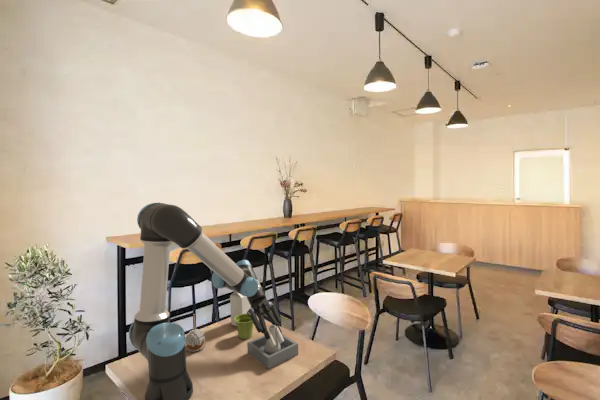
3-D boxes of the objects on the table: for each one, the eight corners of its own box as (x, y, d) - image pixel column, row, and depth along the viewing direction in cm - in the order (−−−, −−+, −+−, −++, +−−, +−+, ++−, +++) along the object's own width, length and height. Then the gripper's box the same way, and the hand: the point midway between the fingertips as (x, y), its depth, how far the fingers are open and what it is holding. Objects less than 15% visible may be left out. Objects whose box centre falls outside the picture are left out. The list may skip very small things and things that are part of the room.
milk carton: (231, 324, 159) (229, 287, 157) (240, 318, 165) (238, 282, 163) (242, 328, 155) (241, 289, 154) (251, 321, 162) (250, 285, 160)
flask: (278, 355, 129) (278, 331, 128) (261, 353, 131) (261, 330, 130) (283, 345, 136) (282, 322, 135) (266, 344, 138) (266, 321, 137)
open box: (268, 369, 123) (268, 358, 123) (247, 352, 134) (247, 342, 134) (298, 354, 133) (298, 343, 132) (276, 340, 144) (276, 330, 144)
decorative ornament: (209, 345, 140) (207, 312, 139) (195, 354, 134) (193, 320, 132) (196, 341, 144) (194, 309, 143) (182, 349, 137) (180, 316, 136)
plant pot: (233, 332, 151) (233, 315, 150) (253, 329, 154) (253, 312, 153) (236, 343, 142) (235, 324, 141) (257, 339, 145) (256, 320, 144)
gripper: (266, 292, 149) (289, 340, 138) (234, 302, 138) (257, 355, 127) (273, 283, 144) (297, 333, 133) (240, 293, 133) (264, 348, 122)
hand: (278, 343), depth 130 cm, fingers closed on flask, 3 cm apart
